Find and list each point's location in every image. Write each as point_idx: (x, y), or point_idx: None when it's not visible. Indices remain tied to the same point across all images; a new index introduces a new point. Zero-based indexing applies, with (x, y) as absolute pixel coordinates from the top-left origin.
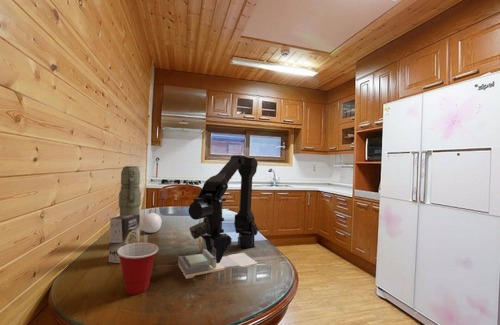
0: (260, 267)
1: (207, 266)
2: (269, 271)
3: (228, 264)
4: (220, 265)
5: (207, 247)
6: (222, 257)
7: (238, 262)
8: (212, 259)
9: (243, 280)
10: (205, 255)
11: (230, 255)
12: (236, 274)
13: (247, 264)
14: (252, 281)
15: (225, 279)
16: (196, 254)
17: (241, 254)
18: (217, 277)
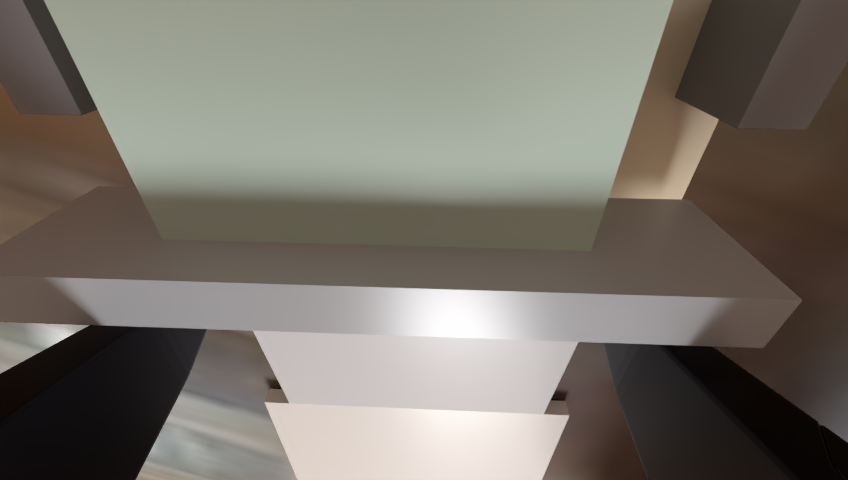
0: (254, 461)
1: (34, 103)
2: (182, 467)
3: (312, 356)
4: None
5: (693, 397)
6: (528, 374)
7: (354, 417)
8: (27, 262)
9: (16, 327)
10: (453, 228)
11: (546, 428)
12: None
13: (291, 440)
14: (7, 363)
15: (14, 219)
16: (788, 87)
17: (510, 476)
18: (60, 164)
